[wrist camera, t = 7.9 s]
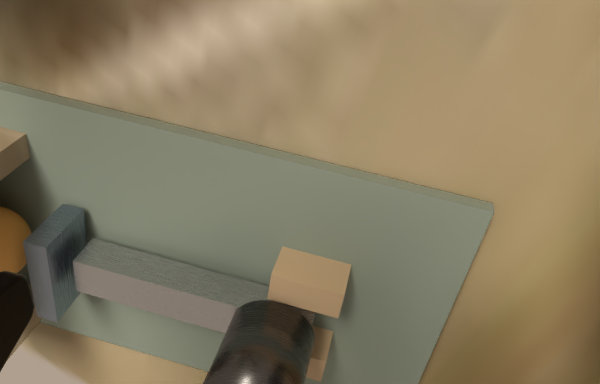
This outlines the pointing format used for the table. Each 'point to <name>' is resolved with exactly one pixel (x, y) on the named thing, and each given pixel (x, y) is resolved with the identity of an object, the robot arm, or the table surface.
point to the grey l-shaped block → (172, 299)
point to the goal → (3, 160)
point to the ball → (12, 240)
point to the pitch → (249, 234)
